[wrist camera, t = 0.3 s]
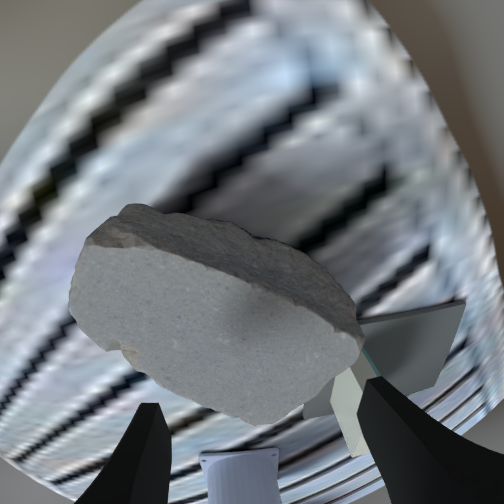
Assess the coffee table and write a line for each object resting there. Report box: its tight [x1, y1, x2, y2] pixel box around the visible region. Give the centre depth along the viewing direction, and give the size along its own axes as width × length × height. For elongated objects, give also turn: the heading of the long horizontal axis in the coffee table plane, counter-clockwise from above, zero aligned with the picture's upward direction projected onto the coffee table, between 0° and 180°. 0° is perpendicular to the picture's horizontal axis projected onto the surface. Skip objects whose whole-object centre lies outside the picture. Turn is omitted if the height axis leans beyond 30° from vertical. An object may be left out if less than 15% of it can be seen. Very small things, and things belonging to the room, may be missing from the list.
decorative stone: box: [68, 204, 365, 426], centre depth 16 cm, size 15×7×10 cm
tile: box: [330, 347, 381, 457], centre depth 20 cm, size 6×2×6 cm, turn 2°
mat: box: [303, 300, 466, 419], centre depth 23 cm, size 10×14×1 cm
